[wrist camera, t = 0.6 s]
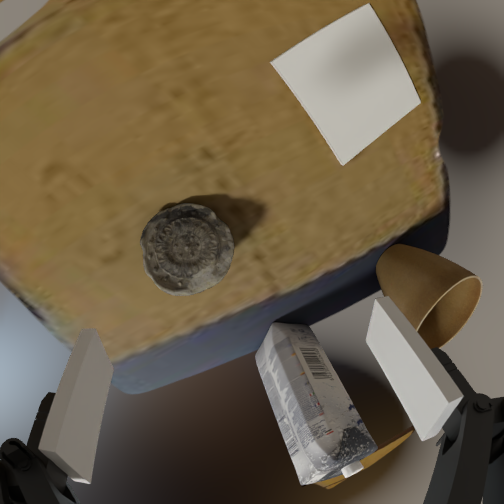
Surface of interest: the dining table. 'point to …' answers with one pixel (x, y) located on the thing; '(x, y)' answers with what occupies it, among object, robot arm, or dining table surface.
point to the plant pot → (429, 291)
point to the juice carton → (311, 405)
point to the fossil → (186, 249)
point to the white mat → (349, 81)
